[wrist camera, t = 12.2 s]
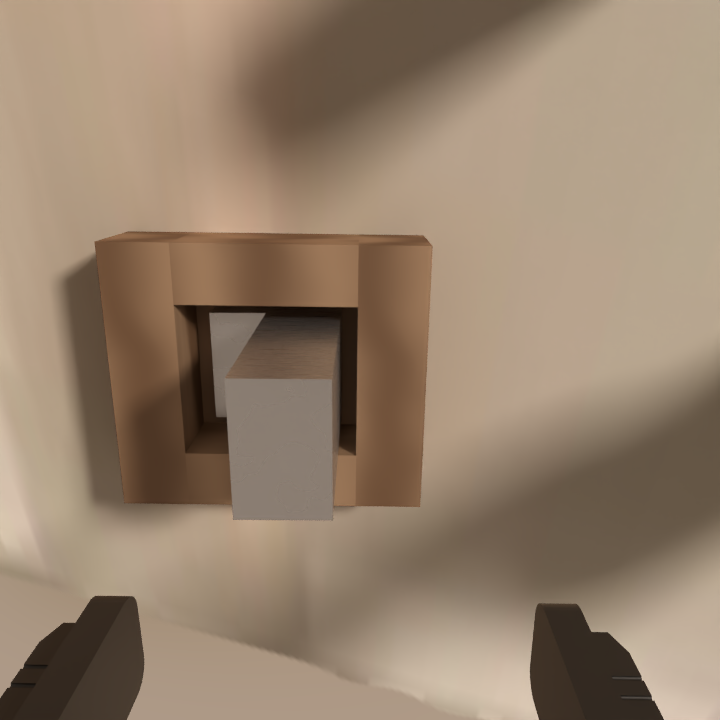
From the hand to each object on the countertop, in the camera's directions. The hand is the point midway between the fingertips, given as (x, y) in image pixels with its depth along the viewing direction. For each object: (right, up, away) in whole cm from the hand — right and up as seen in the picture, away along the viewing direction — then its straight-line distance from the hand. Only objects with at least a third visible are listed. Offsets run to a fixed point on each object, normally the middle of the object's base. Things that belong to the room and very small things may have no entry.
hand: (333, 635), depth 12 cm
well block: (-4, +6, +23) cm, 25 cm away
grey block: (-4, +6, +23) cm, 24 cm away
